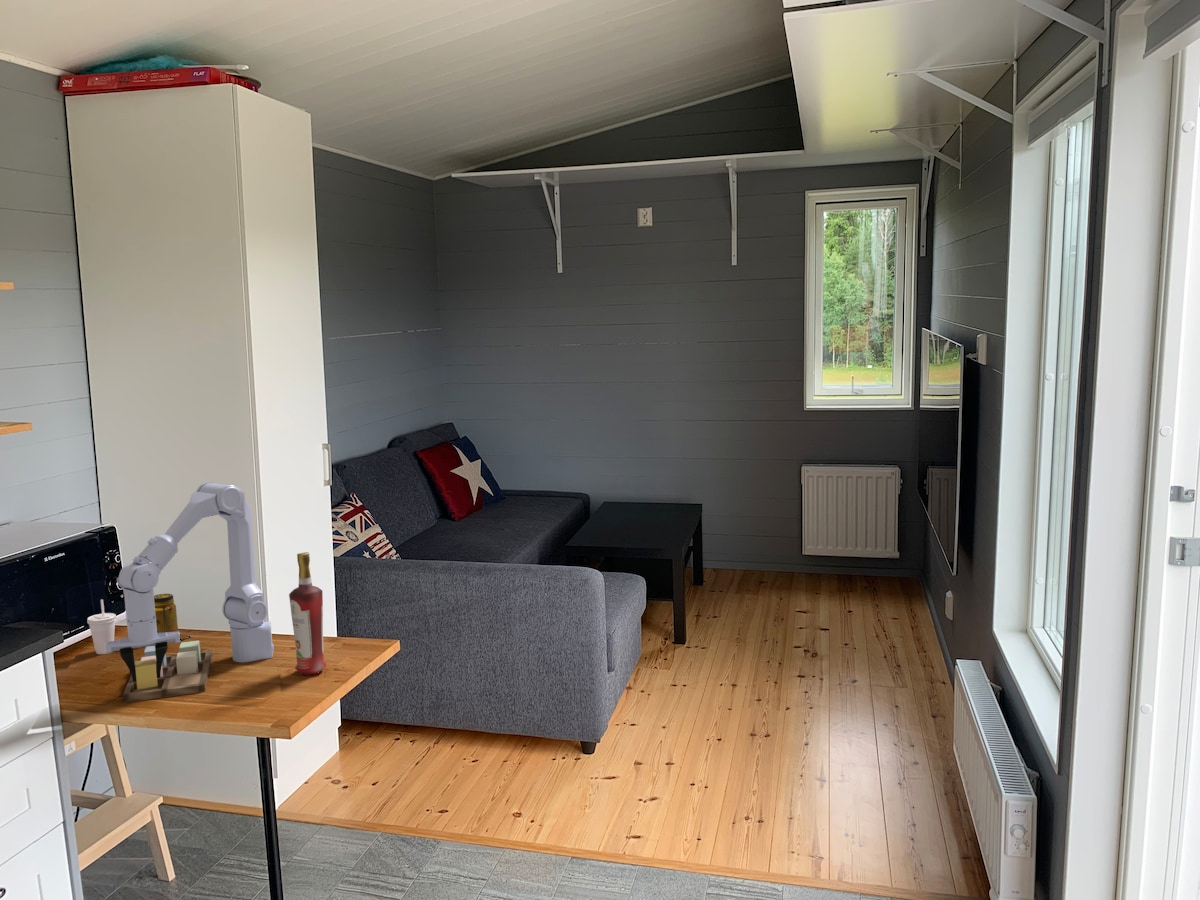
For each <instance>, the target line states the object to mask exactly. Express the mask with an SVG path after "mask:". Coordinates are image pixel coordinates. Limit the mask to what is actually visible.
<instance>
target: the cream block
mask: <svg viewBox="0 0 1200 900" xmlns="http://www.w3.org/2000/svg"><path fill="white" fill-rule="evenodd" d="M176 663H177V675H182V674H190V673H197V672H198V660H197V651H189V652H180V651H179V652H177V657H176Z"/></svg>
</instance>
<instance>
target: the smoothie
mask: <svg viewBox="0 0 1200 900" xmlns="http://www.w3.org/2000/svg"><path fill="white" fill-rule="evenodd" d="M100 609H101V613H99V614H98V613H97V614H93V615H91V616H88V617H87V620H86V621H87V622H86V623H87V624H88V626H89V629H90V634H91V637H92V642H93V645H94V651H95V654H97V655H105V654H108V653H106V642H110V641H115V627H116V626H115V625H116V620H117V614H116V613H113V612H105V605H104V599H102V598H101V599H100ZM113 652H114V651H112V652H111V653H113Z"/></svg>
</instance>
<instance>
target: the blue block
mask: <svg viewBox="0 0 1200 900" xmlns="http://www.w3.org/2000/svg"><path fill="white" fill-rule="evenodd" d="M143 654H144V655H143V657H147V656H156V653H155V645H151V646H145V648H144V652H143ZM166 656H167V654H165V656H164V659H163V662H162V666H167V662H166Z"/></svg>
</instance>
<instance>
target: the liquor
mask: <svg viewBox="0 0 1200 900" xmlns="http://www.w3.org/2000/svg"><path fill="white" fill-rule="evenodd" d="M310 557H311V556H310V552H298V553H297V554H296V558H297V565H298V587H295V588H294V589H293V590H291V591H290V592H289V594H288V598H289V603H290V604H289V606H290V615H291V621H292V622H291V623H292V629H293V637H294V645H295V656H296V666H295V667H294V669H295V670H296V671H297V672H298V673H300V674H301V675H303V674H304V675H303V676H312V675H311V674H314V675H317V674H316V673H318V672H320V671H321V672H322V671H323V670H324V669H325V668H326V666H327V663H326V661H325V656H324V655H325V654H324V653H325V652H324V629H323V628H324V609H323V608H324V607H323V596H324V595H323V589H321V588H319V587H318V586H315V585H313V582H312V576H311V570H310V569H311V568H310V561H311V559H310ZM321 672H320V673H321ZM318 674H319V673H318Z"/></svg>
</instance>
